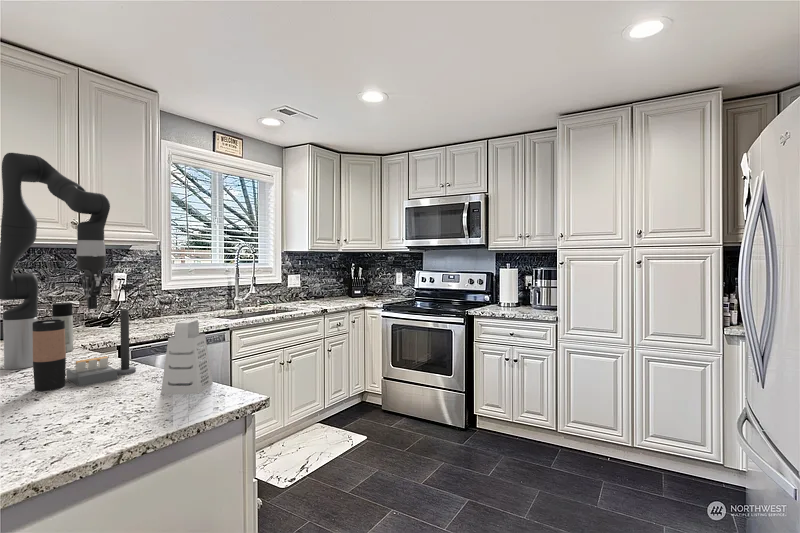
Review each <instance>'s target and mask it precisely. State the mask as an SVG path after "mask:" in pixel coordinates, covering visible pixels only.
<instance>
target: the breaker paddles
mask: <svg viewBox="0 0 800 533" xmlns="http://www.w3.org/2000/svg"><path fill="white" fill-rule="evenodd" d="M108 362H109V357H108V356H101V357H100V356H99V357H94V358H92V357H91V358H87V359H80V360H76V361H75V368H76V372H81V371H85V368H86V366H87V369H88V370H93V369H97V364H98V367H99V368H104V367H107V365H108ZM108 366H109V365H108Z"/></svg>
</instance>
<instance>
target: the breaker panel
mask: <svg viewBox="0 0 800 533" xmlns="http://www.w3.org/2000/svg"><path fill="white" fill-rule="evenodd" d="M116 369H117V368H114V367H112V366H110V365H107V367H104V368H99V367H98V363H97V369H93V370H88V369H87V365H86V368H85V371H81V372H76V367H71V368H66V379H67V380H69V381H70V382H71V383H73V384H74V385H76V386H78V387H83V386H90V385H96V384H100V383H105V382H106V383H107V382H110V381H115V380H118V375H117V370H116Z"/></svg>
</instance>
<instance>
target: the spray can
mask: <svg viewBox="0 0 800 533" xmlns="http://www.w3.org/2000/svg"><path fill="white" fill-rule="evenodd" d="M51 311H52V312H51V314H52V315H51V320H56V319H59V320H61V321H64V320H65V348H66V353H69V352H73V351H74V322H73V320H74V319H73V316H74V315H73V303H72V302H57V303H52V306H51Z"/></svg>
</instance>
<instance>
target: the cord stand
mask: <svg viewBox="0 0 800 533" xmlns="http://www.w3.org/2000/svg"><path fill="white" fill-rule="evenodd" d="M129 310H130V309H121V310H120V314H119V315H120V316H119V318H120V320H119V321H120V367H119V368H115V369H116V370H117V376H125V375H131V374H134V373H136V369H137V368H136V367H135V366H130V316H129V315H130V314H129V313H130V311H129Z"/></svg>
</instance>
